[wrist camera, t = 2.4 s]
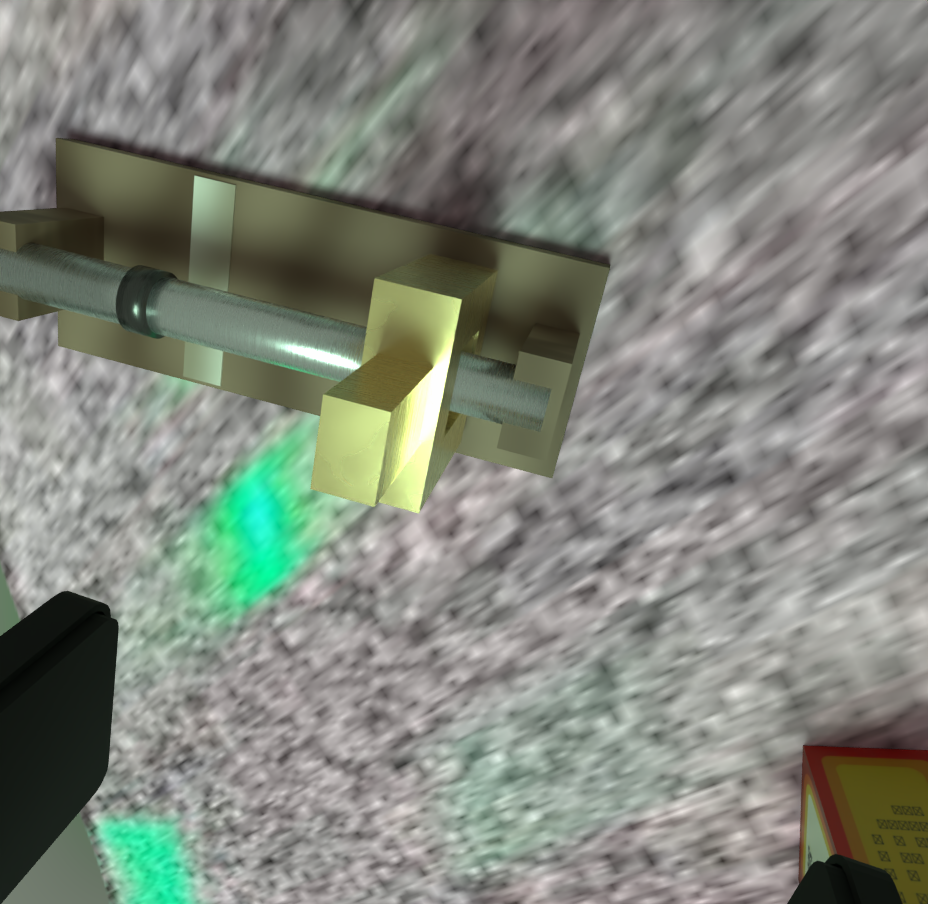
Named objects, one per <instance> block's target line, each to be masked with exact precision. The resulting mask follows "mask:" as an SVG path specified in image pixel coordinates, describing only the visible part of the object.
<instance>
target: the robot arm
mask: <svg viewBox="0 0 928 904" xmlns="http://www.w3.org/2000/svg"><path fill="white" fill-rule="evenodd" d="M118 629H119V628H118V622H117V620H115V619H113V618H111V615H110V609H109V607H108V605H106V604H104V603H102V602H99V601H96V600H93V599H90V598H87V597H84V596H81V595H78V594H75V593H72V592H69V591H64V592H61V593H59V594H57V595H55V596H54V597H53V598H51V599H50V600H48V601H47V602H46V603H44V604H43V605H42V606H40V607H39V608H38V609H36V610H35V611H34V612H32V613H31V614H30V615H28V616H27V617H26V618H24V619H23V620H21V621H20V622H19V623H17V624H16V625H15V626H13V627H12V628H11V629H9V630H8V631H7V632H5V633H4V634H3V635H1V636H0V904H1V903H2V902H3V900H5V899H6V897H7V896H8V895H9V894H10V893H11V892H12V890H13V889H14V888H15V887H16V886H17V885H18V883H19V882H20V881H21V880H22V879H23V877H24V876H25V875H26V874H27V873H28V872H29V870H30V869H31V868H32V867H33V866H34V865H35V863H36V862H37V861H38V860H39V859H40V857H41V856H42V855H43V854H44V853H45V852H46V850H47V849H48V848H49V847H50V846H51V845H52V843H53V842H54V841H55V840H56V839H57V838H58V836H59V835H60V834H61V833H62V832H63V830H64V829H65V828H66V827H67V826H68V825H69V823H70V822H71V821H72V820H73V819H74V818H75V816H76V815H77V814H78V813H79V812H80V811H81V809H82V808H83V807H84V806H85V805H86V803H87V802H88V801H89V800H90V799H91V798H92V796H93V795H94V794H95V793H96V791H97V790H98V788H99V787H100V785H101V783H102V781H103V779H104V777H105V775H106V772H107V768H108V762H109V749H110V735H111V722H112V709H113V696H114V682H115V669H116V656H117V642H118ZM787 904H903V903H902V901H901V898H900V896H899V893H898V890H897V888H896V885H895V883H894V881H893V879H892V877H891V876H890V874H889V873H887V872H886V871H885V870H883V869H881V868H878V867H875V866H872V865H869V864H866V863H863V862H860V861H857V860H854V859H851V858H848V857H845V856H842V855H839V854H834V855H832V856H830V857H829V858H828V859H827V860H826V862H825V863H824V862H821V861H815V862H813V864H812V865H811V866H810V867H809V869H808V871H807V872H806V874H805V876H804V877H803V879H802V880H801V882H800V884H799V885H798V887H797V889H796V890H795V892H794V894H793V895H792V897H791V899H790V900H789V902H788V903H787Z"/></svg>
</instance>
